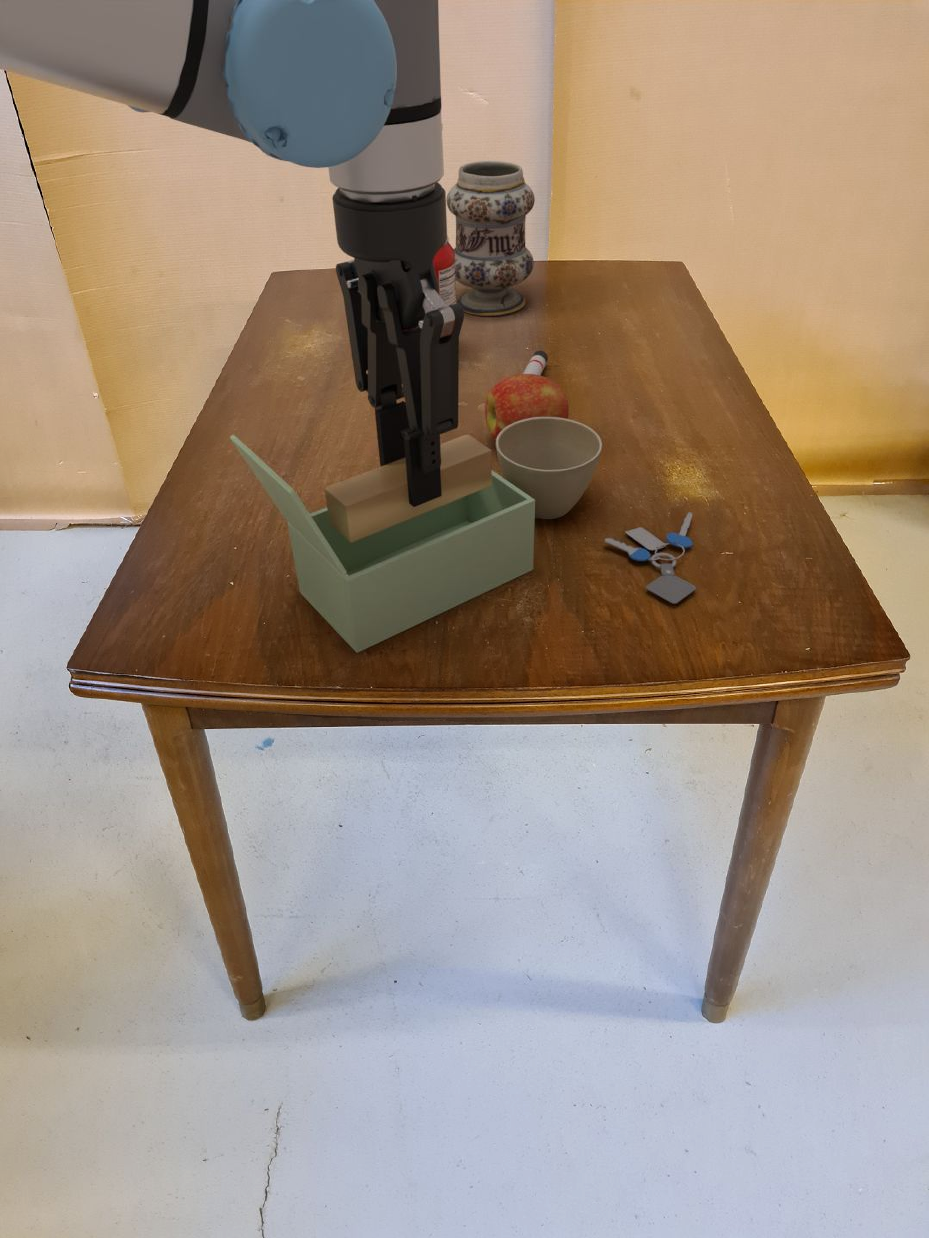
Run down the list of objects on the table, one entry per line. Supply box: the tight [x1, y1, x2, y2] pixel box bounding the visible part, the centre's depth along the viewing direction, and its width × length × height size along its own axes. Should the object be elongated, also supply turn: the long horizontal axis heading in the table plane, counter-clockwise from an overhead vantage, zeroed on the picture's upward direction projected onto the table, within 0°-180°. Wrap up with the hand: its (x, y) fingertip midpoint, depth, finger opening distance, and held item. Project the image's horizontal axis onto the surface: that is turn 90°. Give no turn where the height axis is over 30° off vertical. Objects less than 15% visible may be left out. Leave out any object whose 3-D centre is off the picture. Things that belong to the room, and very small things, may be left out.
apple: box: [484, 373, 570, 441], centre depth 97 cm, size 8×8×8 cm
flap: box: [229, 434, 347, 575], centre depth 68 cm, size 9×10×1 cm
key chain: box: [604, 511, 697, 605], centre depth 83 cm, size 14×8×1 cm, turn 170°
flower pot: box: [495, 417, 603, 520], centre depth 88 cm, size 10×10×7 cm
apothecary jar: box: [446, 160, 536, 317], centre depth 124 cm, size 12×12×18 cm
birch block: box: [324, 433, 493, 543], centre depth 75 cm, size 4×14×4 cm, turn 125°
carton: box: [286, 470, 536, 654], centre depth 79 cm, size 18×10×8 cm, turn 126°
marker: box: [522, 349, 549, 376], centre depth 108 cm, size 15×2×2 cm, turn 164°
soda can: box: [405, 235, 457, 331], centre depth 112 cm, size 8×8×15 cm
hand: (411, 488), depth 75 cm, fingers closed on birch block, 3 cm apart
